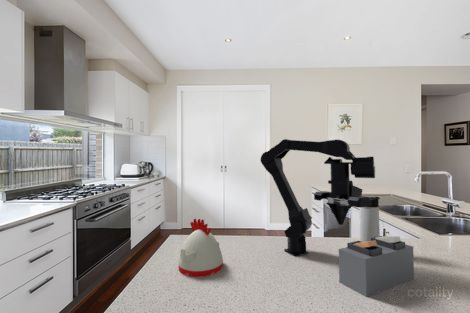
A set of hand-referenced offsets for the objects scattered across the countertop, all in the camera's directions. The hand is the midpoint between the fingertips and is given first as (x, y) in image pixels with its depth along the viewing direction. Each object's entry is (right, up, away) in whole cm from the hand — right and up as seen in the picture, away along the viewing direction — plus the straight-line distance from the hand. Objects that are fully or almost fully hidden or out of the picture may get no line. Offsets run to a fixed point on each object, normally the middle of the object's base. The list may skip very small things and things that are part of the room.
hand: (340, 224), depth 81 cm
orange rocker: (-1, -1, -16) cm, 16 cm away
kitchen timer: (-46, -13, -4) cm, 48 cm away
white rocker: (+8, -1, -12) cm, 14 cm away
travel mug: (+14, -12, +8) cm, 20 cm away
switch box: (+4, -12, -14) cm, 19 cm away
